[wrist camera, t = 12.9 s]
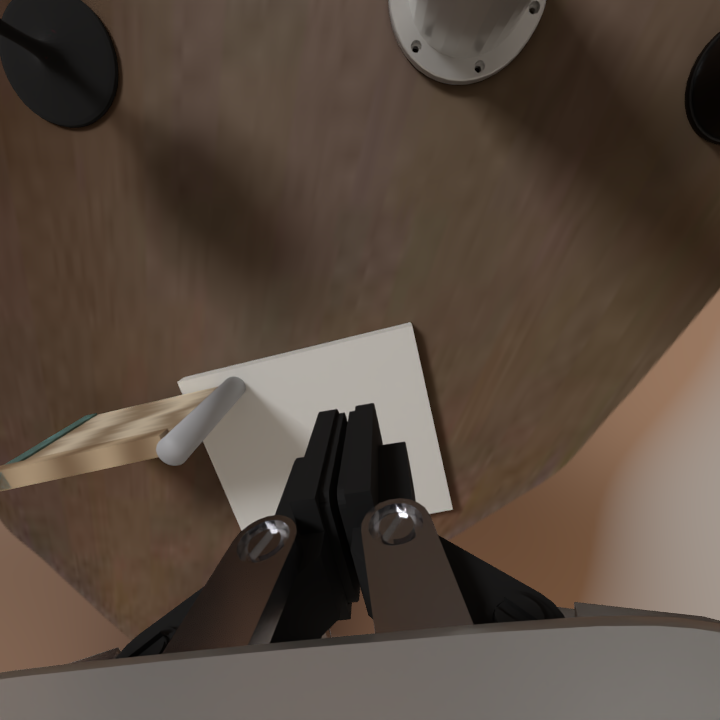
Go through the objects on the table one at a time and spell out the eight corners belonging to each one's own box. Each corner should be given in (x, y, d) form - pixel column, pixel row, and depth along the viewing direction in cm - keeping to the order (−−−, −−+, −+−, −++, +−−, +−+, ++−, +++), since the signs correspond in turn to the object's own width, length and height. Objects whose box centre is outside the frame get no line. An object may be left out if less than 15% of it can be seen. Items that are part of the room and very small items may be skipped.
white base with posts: (184, 377, 42) (89, 445, 28) (410, 322, 39) (430, 367, 25) (252, 537, 48) (203, 656, 34) (450, 501, 45) (483, 615, 31)
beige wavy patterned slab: (217, 384, 39) (160, 435, 29) (223, 398, 40) (169, 454, 30) (85, 415, 41) (-14, 474, 31) (92, 429, 42) (-3, 491, 31)
